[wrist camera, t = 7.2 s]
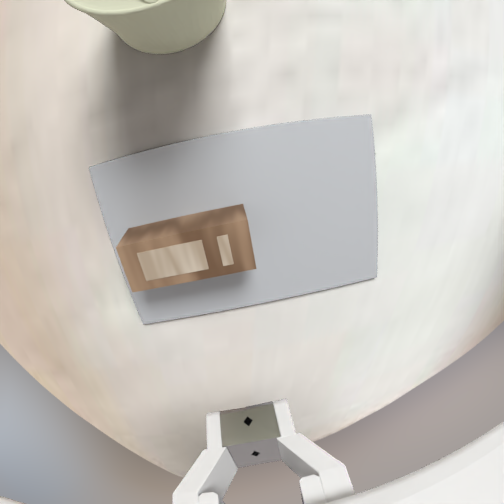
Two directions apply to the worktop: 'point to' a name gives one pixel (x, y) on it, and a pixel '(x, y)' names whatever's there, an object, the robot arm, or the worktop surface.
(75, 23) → the worktop surface
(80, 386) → the worktop surface
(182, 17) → the can
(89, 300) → the worktop surface
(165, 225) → the brown box
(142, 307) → the grey mat
